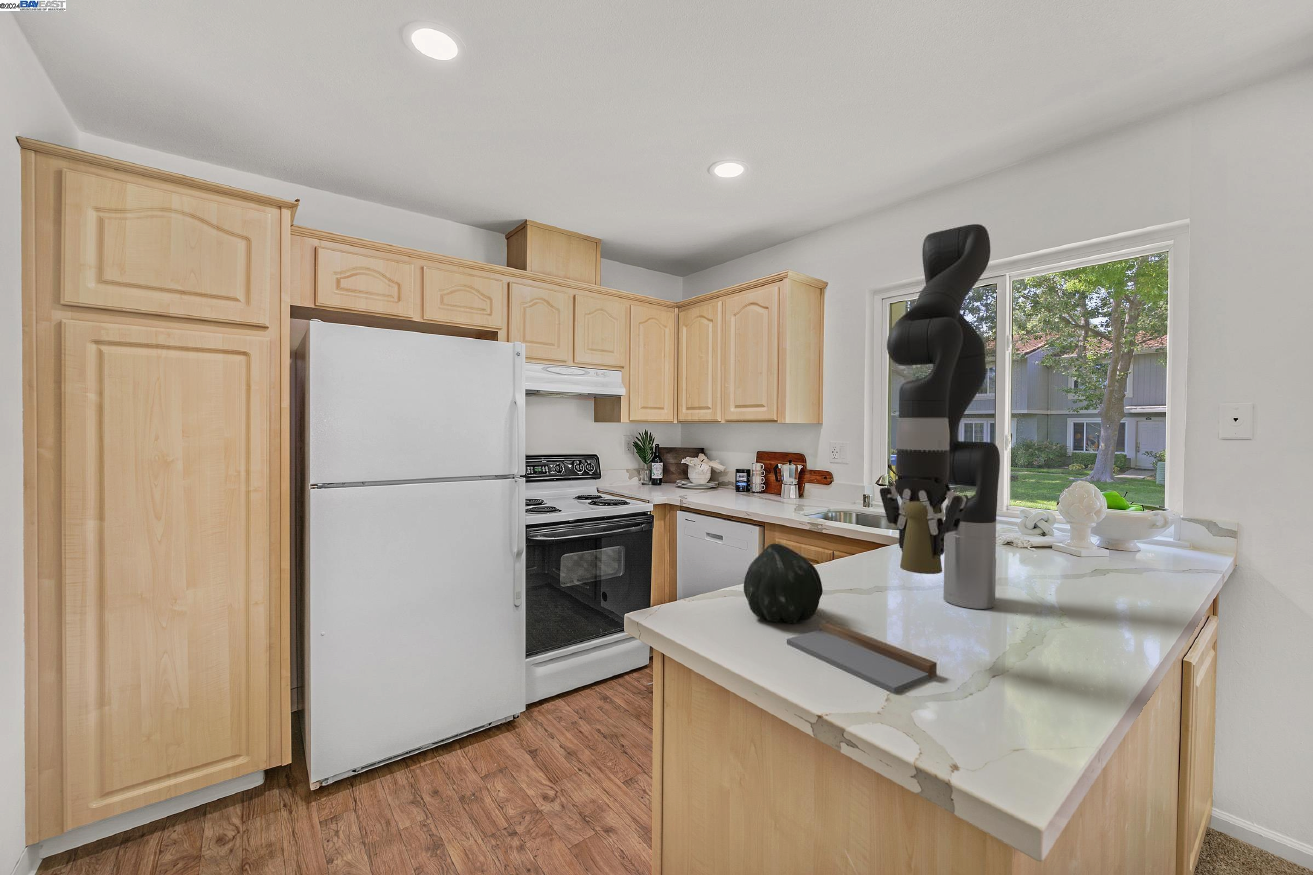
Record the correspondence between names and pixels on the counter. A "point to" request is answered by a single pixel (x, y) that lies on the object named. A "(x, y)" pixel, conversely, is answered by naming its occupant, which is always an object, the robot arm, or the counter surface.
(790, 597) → the squash
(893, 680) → the slate mat
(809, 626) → the counter surface
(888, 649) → the walnut rail
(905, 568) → the olive pawn-shaped piece
